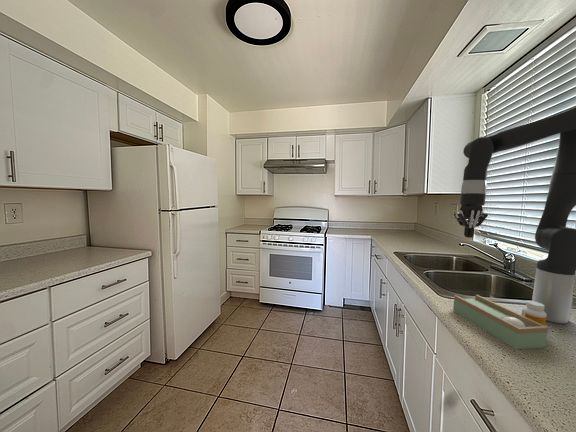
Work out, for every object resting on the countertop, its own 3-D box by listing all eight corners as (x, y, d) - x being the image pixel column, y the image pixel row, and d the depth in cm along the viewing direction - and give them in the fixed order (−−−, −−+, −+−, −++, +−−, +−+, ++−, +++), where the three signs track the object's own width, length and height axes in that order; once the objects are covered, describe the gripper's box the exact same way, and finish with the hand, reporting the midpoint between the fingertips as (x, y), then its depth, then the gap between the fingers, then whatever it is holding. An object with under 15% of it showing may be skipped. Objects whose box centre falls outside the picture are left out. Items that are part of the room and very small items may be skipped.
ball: (532, 321, 70) (532, 342, 70) (511, 314, 76) (511, 333, 76) (514, 321, 69) (513, 342, 69) (494, 313, 75) (494, 332, 75)
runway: (475, 309, 90) (477, 294, 90) (545, 347, 68) (548, 327, 68) (453, 310, 89) (454, 295, 88) (516, 349, 67) (519, 329, 67)
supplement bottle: (548, 338, 73) (553, 308, 72) (528, 336, 74) (532, 306, 73) (534, 329, 78) (538, 300, 77) (515, 326, 79) (519, 298, 78)
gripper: (479, 193, 95) (474, 235, 97) (449, 192, 93) (445, 235, 95) (498, 193, 88) (492, 239, 89) (466, 192, 86) (461, 239, 88)
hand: (468, 237), depth 92 cm, fingers closed
